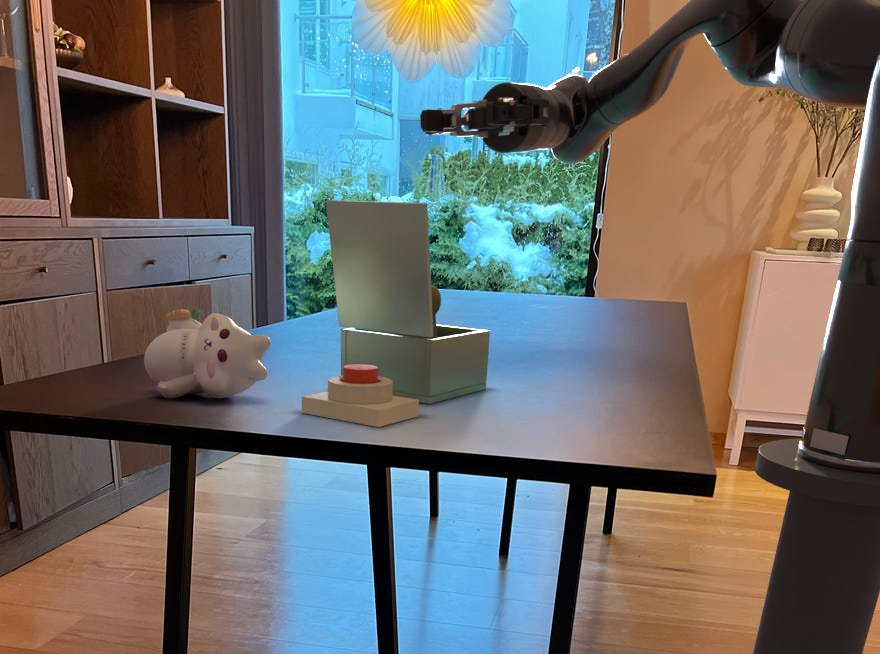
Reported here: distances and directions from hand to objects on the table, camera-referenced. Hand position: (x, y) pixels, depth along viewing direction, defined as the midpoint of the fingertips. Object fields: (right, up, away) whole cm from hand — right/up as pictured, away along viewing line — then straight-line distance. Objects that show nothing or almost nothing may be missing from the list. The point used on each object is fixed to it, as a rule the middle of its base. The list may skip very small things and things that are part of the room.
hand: (456, 117), depth 101 cm
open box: (-5, -29, +6) cm, 30 cm away
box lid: (-8, -19, -5) cm, 21 cm away
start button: (-10, -33, -9) cm, 35 cm away
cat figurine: (-28, -32, -1) cm, 42 cm away
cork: (-4, -28, +6) cm, 29 cm away
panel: (-10, -36, -8) cm, 38 cm away
